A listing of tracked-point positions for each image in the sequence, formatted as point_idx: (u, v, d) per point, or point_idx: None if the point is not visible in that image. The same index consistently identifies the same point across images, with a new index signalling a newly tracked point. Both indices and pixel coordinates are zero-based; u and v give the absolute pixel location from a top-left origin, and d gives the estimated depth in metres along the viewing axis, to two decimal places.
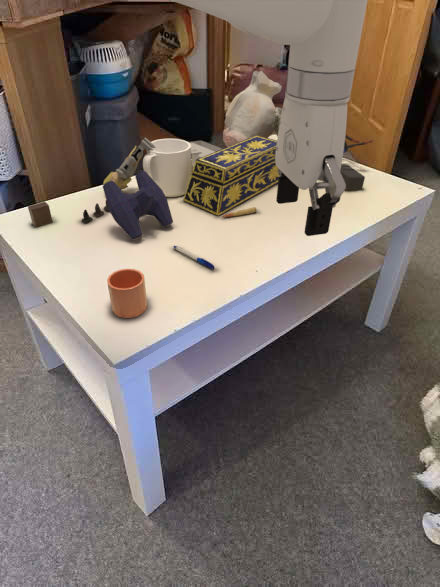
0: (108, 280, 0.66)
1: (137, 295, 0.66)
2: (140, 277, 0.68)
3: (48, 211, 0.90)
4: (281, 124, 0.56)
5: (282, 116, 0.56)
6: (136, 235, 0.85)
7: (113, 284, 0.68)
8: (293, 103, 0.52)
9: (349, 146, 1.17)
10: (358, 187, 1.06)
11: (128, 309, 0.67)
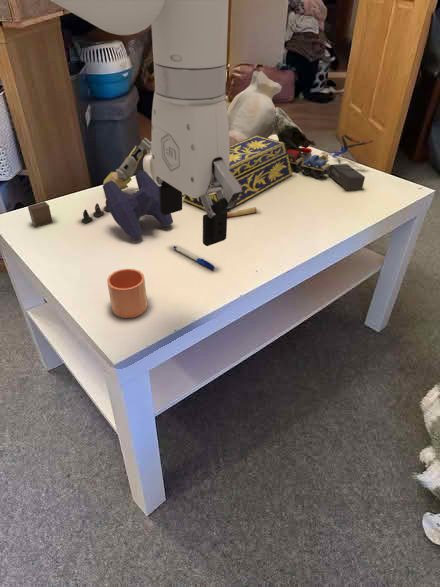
0: (108, 280, 0.66)
1: (137, 295, 0.66)
2: (140, 277, 0.68)
3: (48, 211, 0.90)
4: (154, 129, 0.51)
5: (154, 120, 0.50)
6: (136, 235, 0.85)
7: (113, 284, 0.68)
8: (166, 105, 0.47)
9: (349, 146, 1.17)
10: (358, 187, 1.06)
11: (128, 309, 0.67)
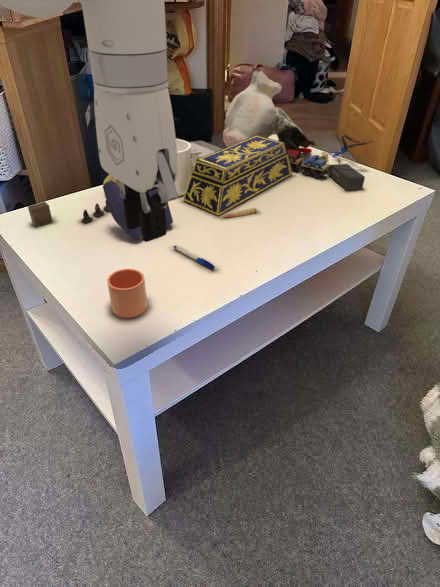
0: (108, 280, 0.66)
1: (137, 295, 0.66)
2: (140, 277, 0.68)
3: (48, 211, 0.90)
4: (97, 121, 0.48)
5: (96, 111, 0.47)
6: (136, 235, 0.85)
7: (113, 284, 0.68)
8: (106, 94, 0.44)
9: (349, 146, 1.17)
10: (358, 187, 1.06)
11: (128, 309, 0.67)
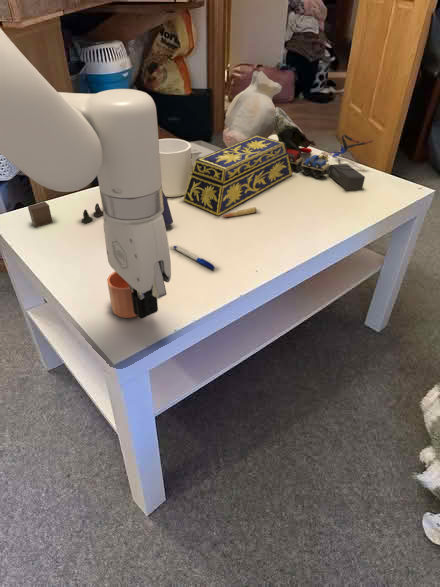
0: (108, 280, 0.66)
1: None
2: None
3: (48, 211, 0.90)
4: (106, 232, 0.59)
5: (105, 226, 0.58)
6: None
7: (113, 284, 0.68)
8: None
9: (349, 146, 1.17)
10: (358, 187, 1.06)
11: (128, 309, 0.67)
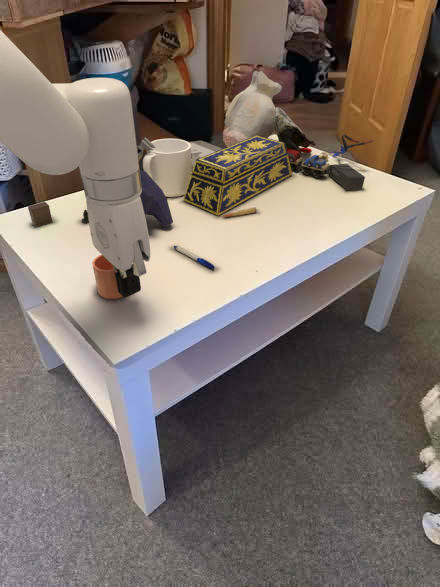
0: (93, 263, 0.70)
1: None
2: None
3: (48, 211, 0.90)
4: (89, 214, 0.62)
5: (88, 208, 0.62)
6: None
7: (98, 267, 0.72)
8: None
9: (349, 146, 1.17)
10: (358, 187, 1.06)
11: (114, 290, 0.71)
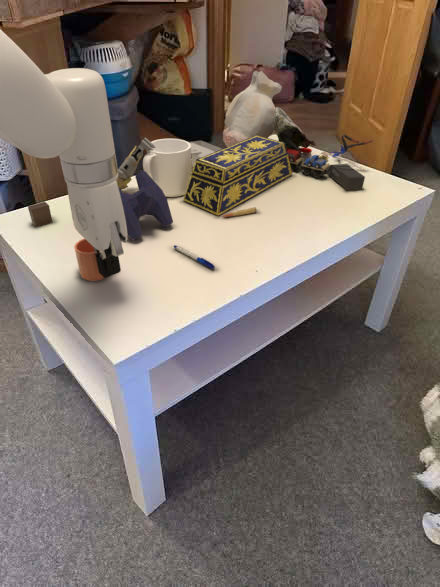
0: (75, 247, 0.74)
1: None
2: None
3: (48, 211, 0.90)
4: (70, 198, 0.66)
5: (68, 192, 0.66)
6: (136, 235, 0.85)
7: None
8: None
9: (349, 146, 1.17)
10: (358, 187, 1.06)
11: (95, 272, 0.75)
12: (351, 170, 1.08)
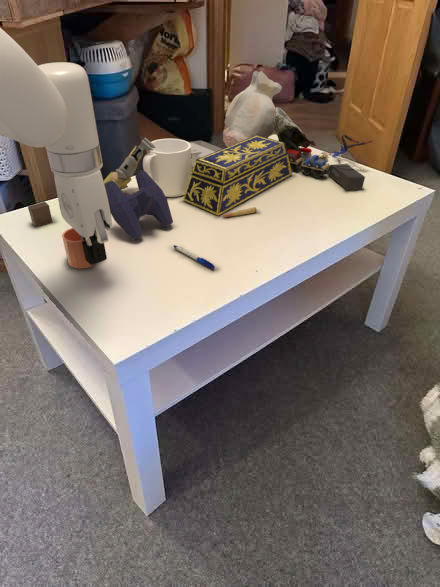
0: (63, 236, 0.77)
1: None
2: None
3: (48, 211, 0.90)
4: (56, 187, 0.69)
5: (55, 182, 0.69)
6: (136, 235, 0.85)
7: None
8: None
9: (349, 146, 1.17)
10: (358, 187, 1.06)
11: (83, 260, 0.78)
12: (351, 170, 1.08)
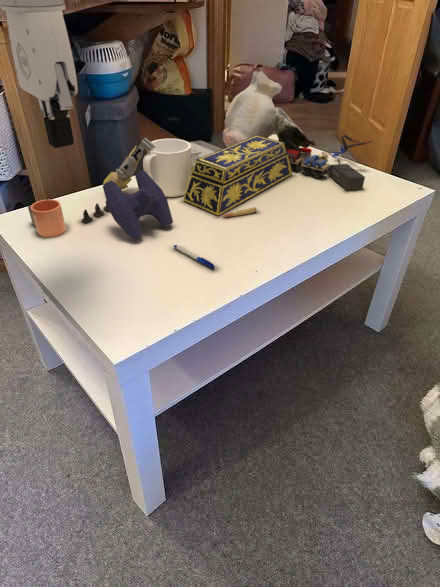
0: (31, 207, 0.85)
1: (56, 217, 0.86)
2: (57, 205, 0.88)
3: None
4: (11, 43, 0.58)
5: (9, 35, 0.58)
6: (136, 235, 0.85)
7: None
8: (12, 16, 0.54)
9: (349, 146, 1.17)
10: (358, 187, 1.06)
11: (50, 229, 0.86)
12: (351, 170, 1.08)
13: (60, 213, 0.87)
